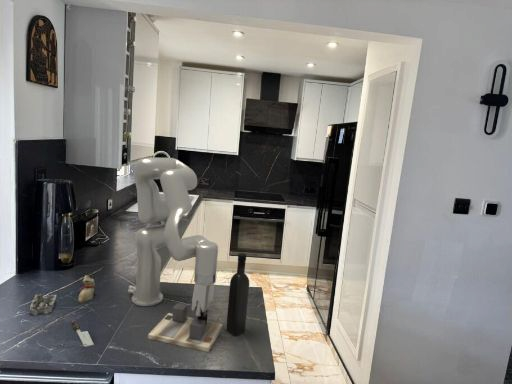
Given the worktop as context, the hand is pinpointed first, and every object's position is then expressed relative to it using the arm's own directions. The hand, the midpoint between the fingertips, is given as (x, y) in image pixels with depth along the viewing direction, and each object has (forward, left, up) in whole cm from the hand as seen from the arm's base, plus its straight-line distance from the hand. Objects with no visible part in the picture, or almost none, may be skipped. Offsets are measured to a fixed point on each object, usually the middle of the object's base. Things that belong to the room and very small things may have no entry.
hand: (201, 324), depth 120 cm
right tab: (0, -4, -2) cm, 5 cm away
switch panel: (-5, -1, -4) cm, 6 cm away
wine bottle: (+11, +6, -4) cm, 13 cm away
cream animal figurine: (-53, +7, -4) cm, 54 cm away
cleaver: (-38, -13, -4) cm, 40 cm away
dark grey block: (-10, +3, -2) cm, 11 cm away
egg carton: (-62, -5, -4) cm, 62 cm away
